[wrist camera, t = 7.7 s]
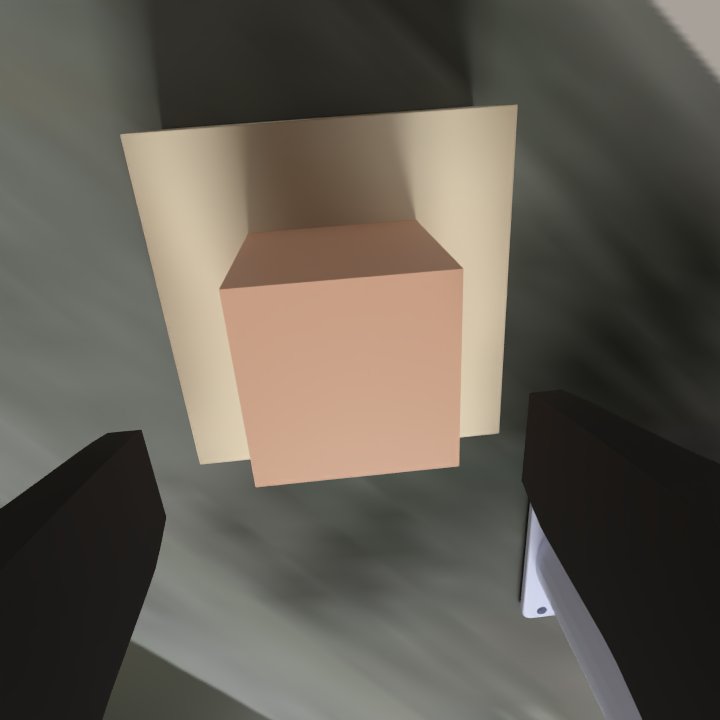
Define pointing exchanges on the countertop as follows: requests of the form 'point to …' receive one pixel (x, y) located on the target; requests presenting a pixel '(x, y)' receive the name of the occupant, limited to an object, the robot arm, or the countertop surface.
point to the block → (346, 351)
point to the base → (323, 209)
